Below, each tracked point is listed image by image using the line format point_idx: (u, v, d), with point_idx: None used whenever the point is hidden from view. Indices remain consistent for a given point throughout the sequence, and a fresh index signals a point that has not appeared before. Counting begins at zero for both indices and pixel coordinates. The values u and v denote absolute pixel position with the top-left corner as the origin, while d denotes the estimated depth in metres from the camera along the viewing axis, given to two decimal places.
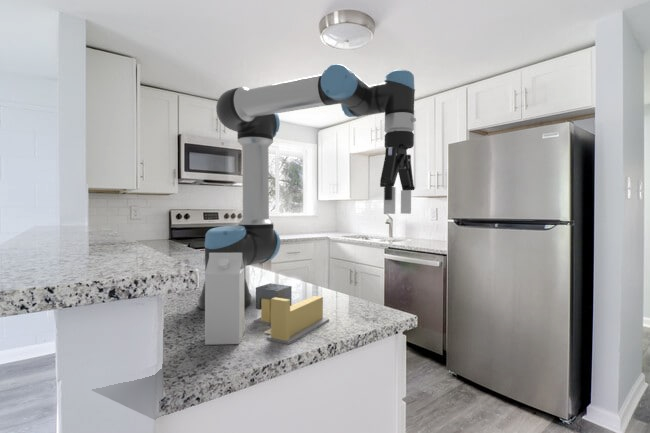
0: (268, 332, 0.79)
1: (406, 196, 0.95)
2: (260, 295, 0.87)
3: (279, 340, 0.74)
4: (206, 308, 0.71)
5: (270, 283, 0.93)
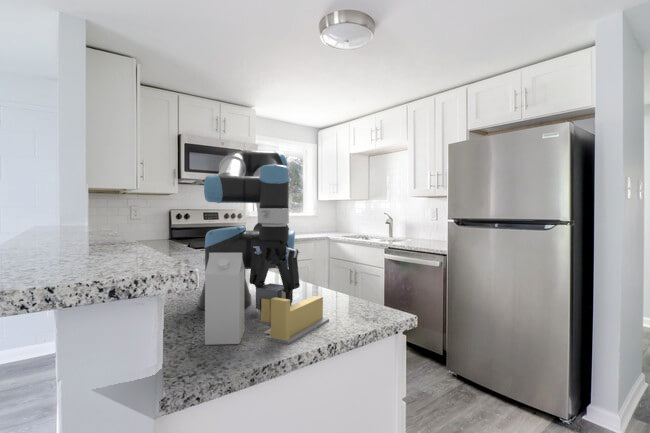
0: (268, 332, 0.79)
1: None
2: (260, 295, 0.87)
3: (279, 340, 0.74)
4: (206, 308, 0.71)
5: (270, 283, 0.93)
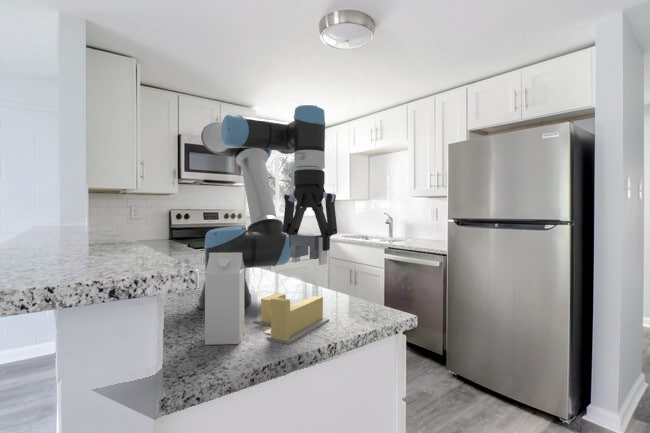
0: (268, 332, 0.79)
1: None
2: (295, 242, 0.83)
3: (279, 340, 0.74)
4: (206, 308, 0.71)
5: None
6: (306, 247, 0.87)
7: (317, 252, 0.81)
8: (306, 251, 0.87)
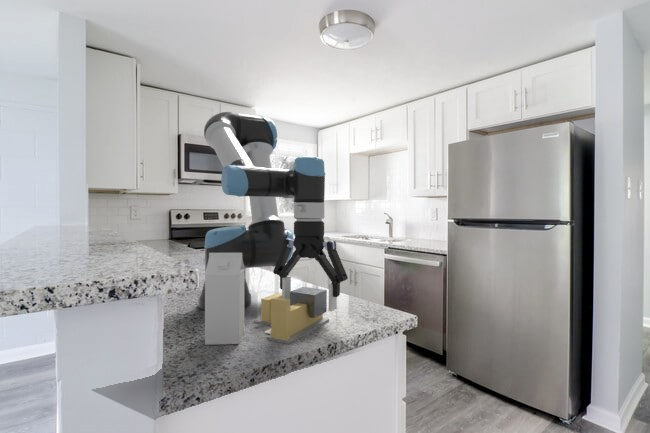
0: (268, 332, 0.79)
1: None
2: (295, 299, 0.83)
3: (279, 340, 0.74)
4: (206, 308, 0.71)
5: None
6: None
7: (316, 310, 0.82)
8: None
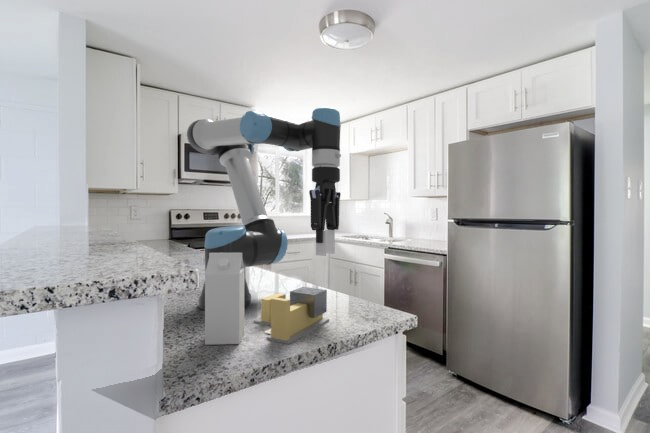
0: (268, 332, 0.79)
1: (329, 236, 0.94)
2: (295, 299, 0.83)
3: (279, 340, 0.74)
4: (206, 308, 0.71)
5: None
6: None
7: (316, 310, 0.82)
8: None
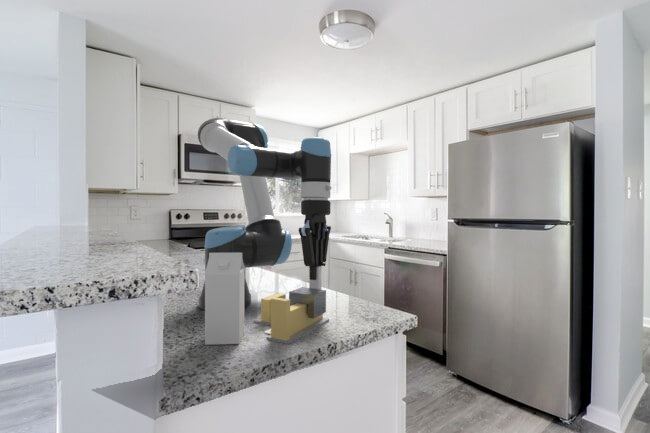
0: (268, 332, 0.79)
1: None
2: (294, 300, 0.83)
3: (279, 340, 0.74)
4: (206, 308, 0.71)
5: (302, 287, 0.89)
6: None
7: (316, 311, 0.81)
8: None
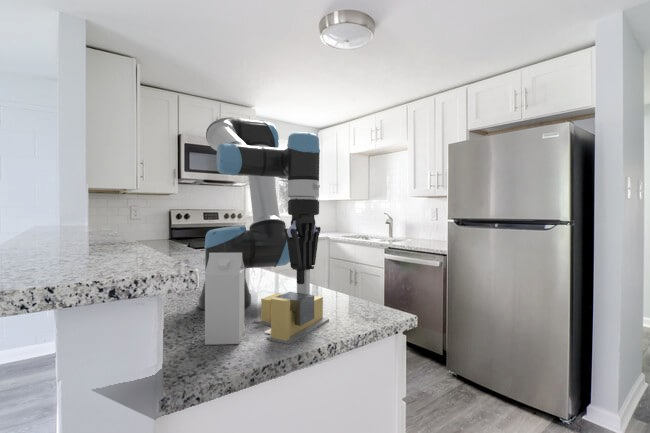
0: (268, 332, 0.79)
1: None
2: None
3: (279, 340, 0.74)
4: (206, 308, 0.71)
5: None
6: None
7: (303, 317, 0.76)
8: None
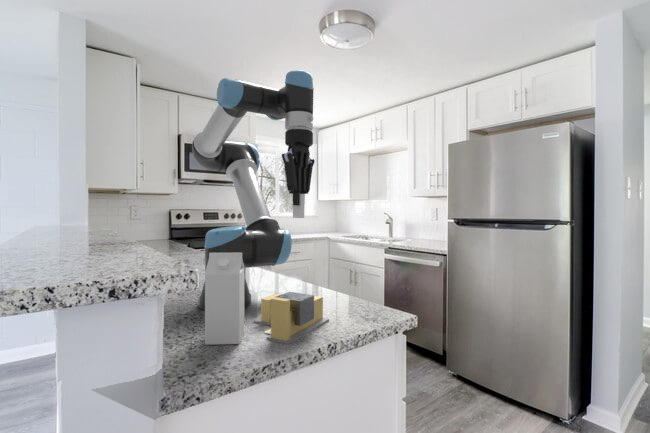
0: (268, 332, 0.79)
1: None
2: None
3: (279, 340, 0.74)
4: (206, 308, 0.71)
5: None
6: None
7: (303, 317, 0.76)
8: None
